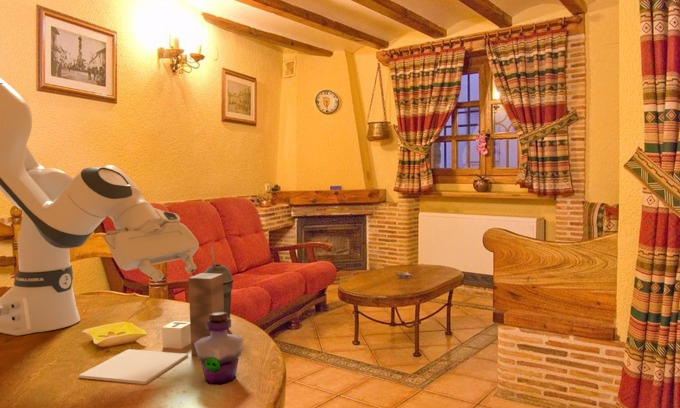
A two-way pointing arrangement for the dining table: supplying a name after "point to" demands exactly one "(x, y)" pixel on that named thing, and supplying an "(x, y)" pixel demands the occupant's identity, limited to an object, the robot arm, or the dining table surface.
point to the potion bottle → (219, 350)
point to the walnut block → (204, 303)
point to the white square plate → (134, 366)
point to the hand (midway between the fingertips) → (177, 274)
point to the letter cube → (176, 335)
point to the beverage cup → (226, 282)
